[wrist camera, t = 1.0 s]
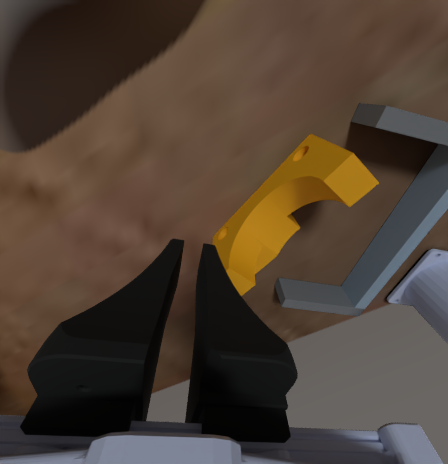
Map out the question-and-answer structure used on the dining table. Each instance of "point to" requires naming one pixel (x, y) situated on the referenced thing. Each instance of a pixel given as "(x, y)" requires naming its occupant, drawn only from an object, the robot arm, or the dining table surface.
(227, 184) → the dining table surface
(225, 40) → the dining table surface
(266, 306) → the dining table surface
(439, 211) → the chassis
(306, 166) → the pipe clamp
